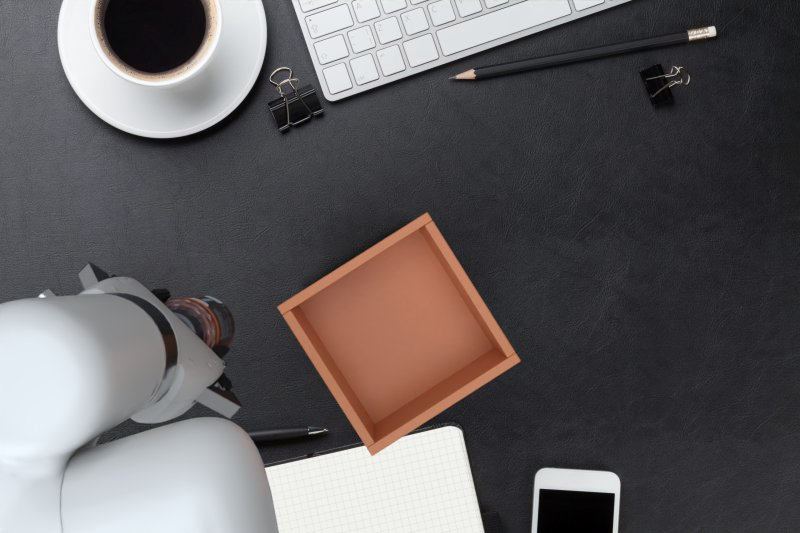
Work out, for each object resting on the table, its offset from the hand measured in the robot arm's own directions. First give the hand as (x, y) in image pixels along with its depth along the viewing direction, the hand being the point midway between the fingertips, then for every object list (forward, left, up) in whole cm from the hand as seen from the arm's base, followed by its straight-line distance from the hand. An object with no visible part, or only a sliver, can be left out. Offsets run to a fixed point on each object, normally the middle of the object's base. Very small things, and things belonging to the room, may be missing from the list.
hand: (185, 332), depth 63 cm
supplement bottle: (0, 0, -7) cm, 7 cm away
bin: (-9, -15, +4) cm, 18 cm away
